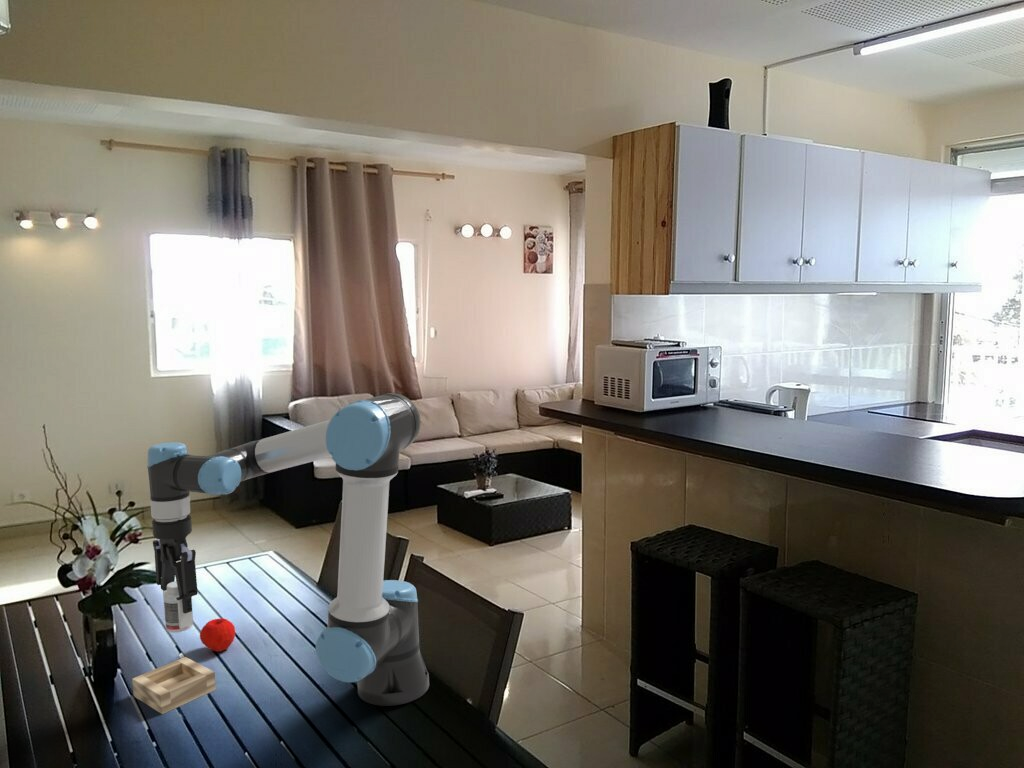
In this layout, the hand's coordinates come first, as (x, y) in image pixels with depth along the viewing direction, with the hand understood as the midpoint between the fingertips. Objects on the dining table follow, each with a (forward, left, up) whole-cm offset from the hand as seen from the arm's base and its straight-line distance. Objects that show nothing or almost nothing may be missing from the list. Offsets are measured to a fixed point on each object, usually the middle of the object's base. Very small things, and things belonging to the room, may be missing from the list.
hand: (179, 622), depth 166 cm
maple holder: (+1, +2, -16) cm, 16 cm away
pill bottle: (0, 0, -2) cm, 2 cm away
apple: (+12, -15, -16) cm, 25 cm away
